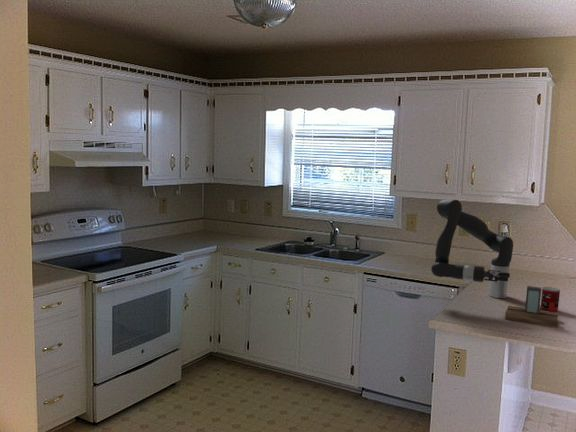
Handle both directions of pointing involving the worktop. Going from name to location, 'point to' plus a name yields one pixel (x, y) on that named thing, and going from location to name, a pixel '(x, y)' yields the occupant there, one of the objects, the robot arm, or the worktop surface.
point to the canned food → (550, 299)
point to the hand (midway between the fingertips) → (508, 277)
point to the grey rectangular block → (533, 300)
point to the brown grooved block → (531, 316)
